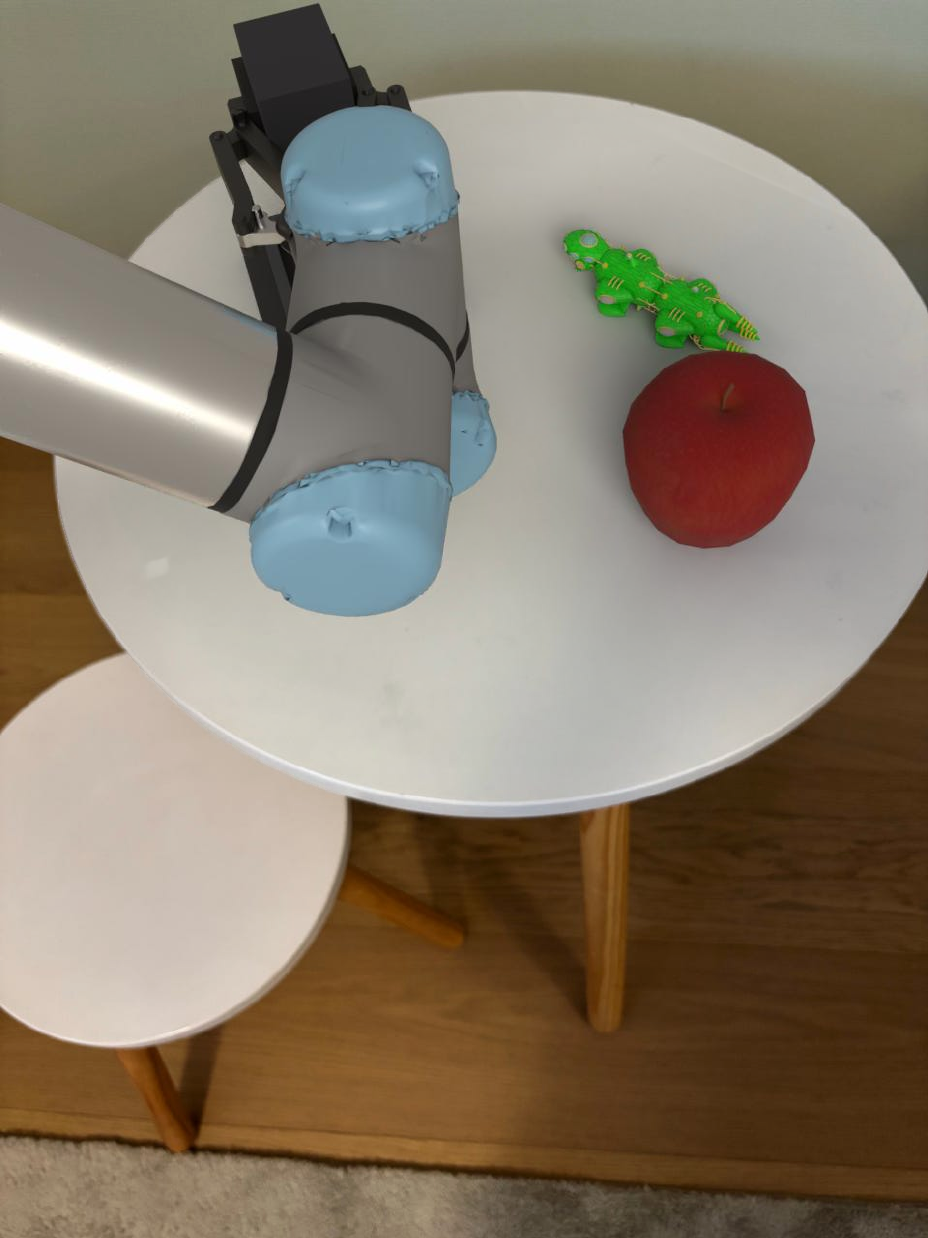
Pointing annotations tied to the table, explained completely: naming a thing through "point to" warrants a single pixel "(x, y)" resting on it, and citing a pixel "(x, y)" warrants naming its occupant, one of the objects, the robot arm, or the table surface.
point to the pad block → (293, 70)
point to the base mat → (272, 282)
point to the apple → (717, 446)
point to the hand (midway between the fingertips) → (287, 64)
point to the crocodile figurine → (657, 294)
